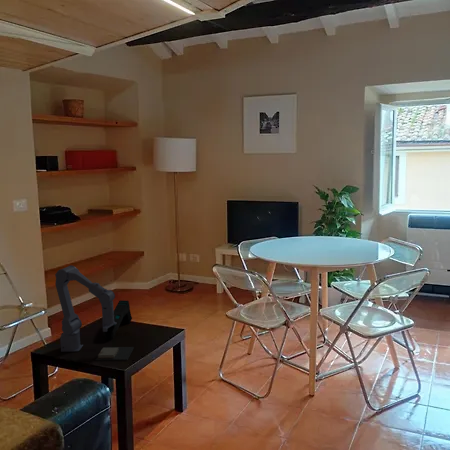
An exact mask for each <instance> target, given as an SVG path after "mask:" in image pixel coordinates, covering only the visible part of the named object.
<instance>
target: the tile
mask: <svg viewBox="0 0 450 450" xmlns="http://www.w3.org/2000/svg"><path fill="white" fill-rule="evenodd" d="M118 351H119V349H118V348H104V347H102V348H101V350H100V352H99V353H98V354H97V356H98V358H114V357H115V356H116V354H117V352H118Z"/></svg>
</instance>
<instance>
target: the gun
mask: <svg viewBox="0 0 450 450" xmlns="http://www.w3.org/2000/svg"><path fill="white" fill-rule="evenodd" d="M130 308H131V306H130V302H129V300H124V299H123V300H118V303H117V304H116V306H115V308H114V322H117V324H116V325H115V328H114V330H113V336H112V340H113V339H114V338H115V335H116V334H117V331H118V330H119V328H120V326H121V324H122V325H123V324H125V325H129V324H131V321H132V320H133V317H132V313H131V312H132V311H131V309H130ZM102 333H103V336H104V337H105V339H106V340H107V338H106V335H105V333H104V332H103V331H102Z"/></svg>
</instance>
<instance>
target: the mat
mask: <svg viewBox="0 0 450 450" xmlns="http://www.w3.org/2000/svg"><path fill="white" fill-rule="evenodd" d="M103 348H118V349H119V351H118V352H117V354H116V356H115V357H114V358H98V355H97V356H96V358H95V361H97V362H98V361H101V362H103V361H106V362H107V361H110V362H111V361H128V360H129V358H130V356H131V354H132V352H133V351H134V348H135V347H134V346H104V347H103Z"/></svg>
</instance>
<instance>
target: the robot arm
mask: <svg viewBox="0 0 450 450" xmlns="http://www.w3.org/2000/svg"><path fill="white" fill-rule="evenodd" d="M54 275H55V283H54V284H55V289H56V291H57V292H56V293H57V296H58V299H59V303H60V307H61V310H62V311H61V312H62V314H63V315H62V316H63V318H62V320H61V331H62V332H61V335H60V352H61V353H62V352H68V353H69V352H70V353H71V352H74V353H76V352H79V351H80V350H81V349H82V347H83V346H84V344H81V335H80V333H81V332H80V330H81V328H82V325H83V323H82V320H81V319H80V317H79V315H78V314H77V313H75V309H74V306H73V302H72V298H71V295H70V290H69V286H68V284H69V283H70V282H72V281H76V282H77V283H79V284H80V285H83V287H85V288H88V292H89V293H90V294H91V295H92V296H93V295H94V296H95V298H97V299H98V301H99V303H100V304H101V314H102V315H101V317H102V333H103V332H104V333H105V335H106V337H105V339H106V338H107V339H106V340H107V341H112V340H113V339H112V336H113V330H114V328H115V325H116V324H117V322H114V310H115V308H114V300H115V298H116V294H115V293H114V291H113V289H107V288H105V287H103V286H102V285H101V284H100V283H99V282H92V281H91V280H90V279H89V278H88V277H86V276H85V275H84V274H83V273H81V272H80V270H79V268H77V267H76V266H74V265H68V266H66V267H63V268H59V269H58V270H57V272H55V274H54Z"/></svg>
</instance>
